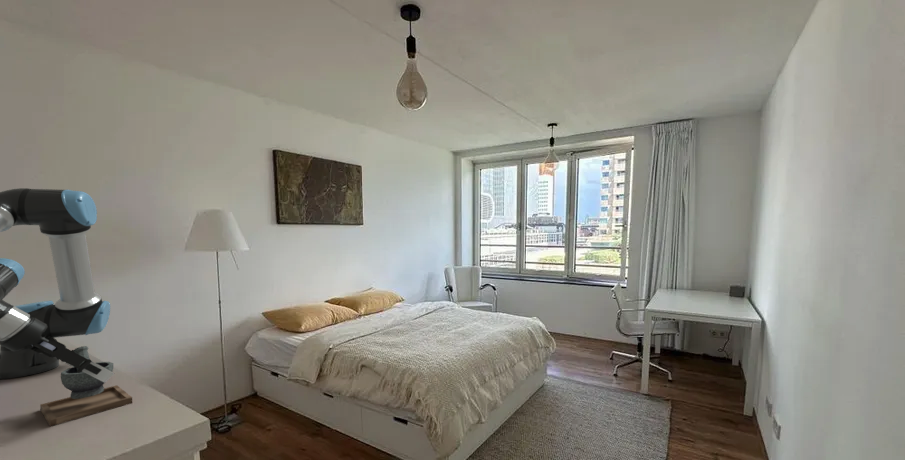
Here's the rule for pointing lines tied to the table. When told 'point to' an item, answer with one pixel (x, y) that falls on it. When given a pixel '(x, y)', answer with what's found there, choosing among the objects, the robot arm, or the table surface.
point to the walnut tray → (84, 405)
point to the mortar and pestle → (83, 378)
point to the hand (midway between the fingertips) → (101, 374)
